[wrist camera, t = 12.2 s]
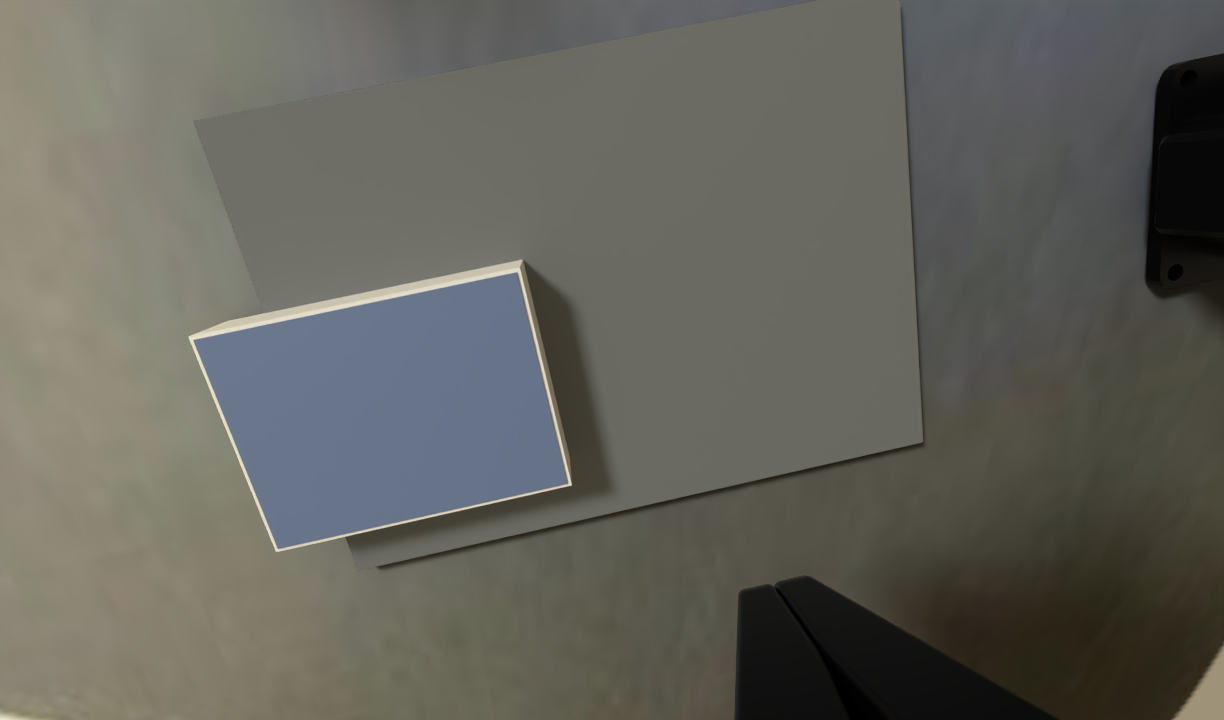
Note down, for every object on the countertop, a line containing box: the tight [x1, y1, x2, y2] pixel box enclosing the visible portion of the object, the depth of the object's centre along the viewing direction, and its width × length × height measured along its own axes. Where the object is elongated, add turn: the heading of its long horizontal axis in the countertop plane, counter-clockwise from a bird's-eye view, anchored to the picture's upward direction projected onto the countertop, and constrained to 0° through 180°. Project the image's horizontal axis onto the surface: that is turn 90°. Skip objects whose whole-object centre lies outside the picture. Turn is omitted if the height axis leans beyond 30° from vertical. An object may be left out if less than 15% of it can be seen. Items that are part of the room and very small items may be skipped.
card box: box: [189, 260, 572, 552], centre depth 16 cm, size 6×2×8 cm
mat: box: [194, 0, 923, 571], centre depth 17 cm, size 18×13×1 cm
